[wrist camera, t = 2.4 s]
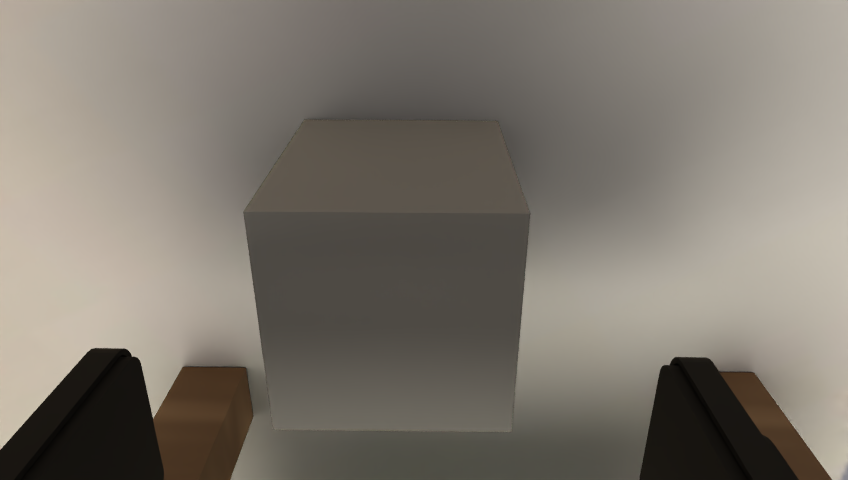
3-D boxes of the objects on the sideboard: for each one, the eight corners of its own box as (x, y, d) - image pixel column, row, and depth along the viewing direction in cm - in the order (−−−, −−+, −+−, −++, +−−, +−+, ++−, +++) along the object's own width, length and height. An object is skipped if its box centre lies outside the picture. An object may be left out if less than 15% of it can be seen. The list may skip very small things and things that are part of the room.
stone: (304, 119, 16) (243, 211, 11) (497, 120, 16) (530, 213, 11) (318, 284, 19) (272, 430, 13) (487, 286, 18) (511, 432, 13)
